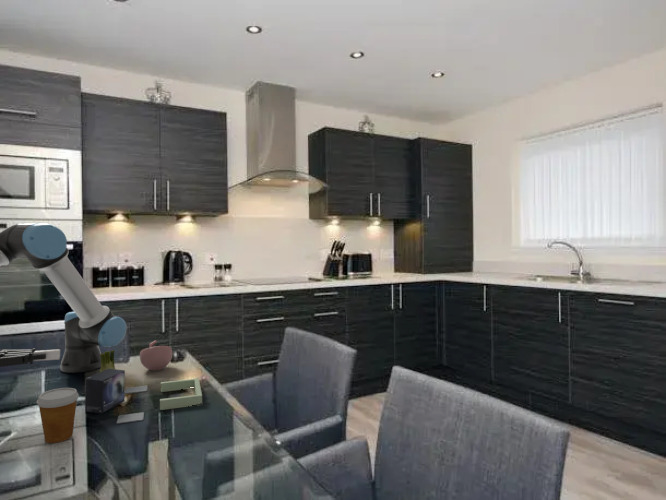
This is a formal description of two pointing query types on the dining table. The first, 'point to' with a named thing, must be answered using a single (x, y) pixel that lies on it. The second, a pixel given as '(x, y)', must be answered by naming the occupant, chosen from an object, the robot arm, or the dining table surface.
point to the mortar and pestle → (156, 356)
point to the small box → (105, 390)
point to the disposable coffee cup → (58, 413)
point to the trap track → (168, 402)
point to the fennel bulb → (107, 360)
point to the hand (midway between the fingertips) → (59, 354)
